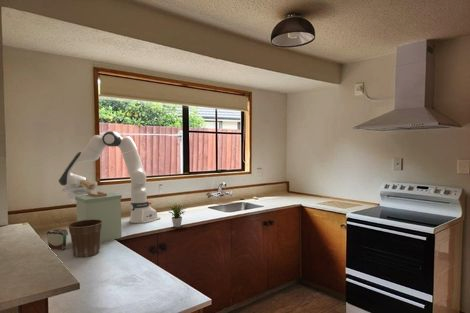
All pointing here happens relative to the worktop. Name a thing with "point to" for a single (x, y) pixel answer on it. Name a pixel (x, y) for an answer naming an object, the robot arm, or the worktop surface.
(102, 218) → the toolbox
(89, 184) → the tan bar
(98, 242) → the plant pot
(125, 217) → the worktop surface
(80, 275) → the worktop surface
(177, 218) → the house plant
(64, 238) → the food container
